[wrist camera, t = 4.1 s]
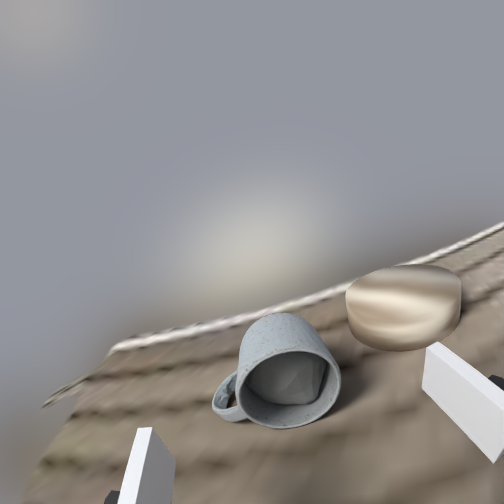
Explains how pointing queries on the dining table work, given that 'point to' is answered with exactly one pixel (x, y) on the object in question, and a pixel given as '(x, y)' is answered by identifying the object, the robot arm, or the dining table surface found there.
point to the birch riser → (404, 307)
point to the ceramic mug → (280, 375)
